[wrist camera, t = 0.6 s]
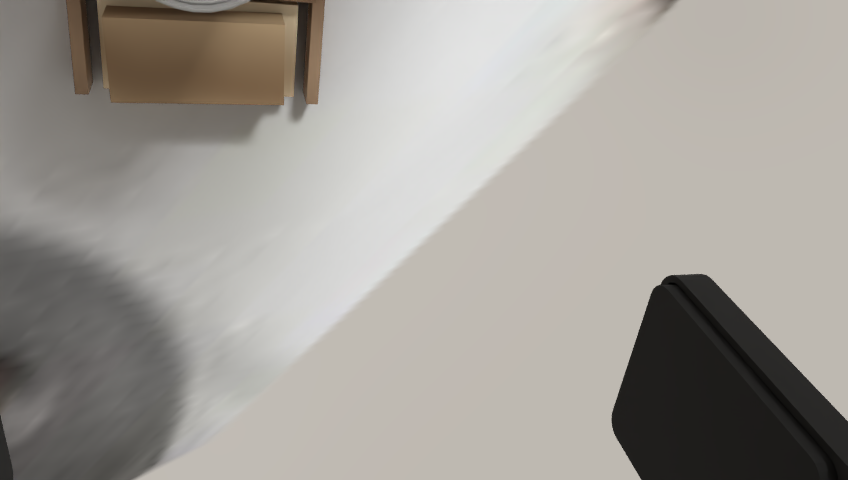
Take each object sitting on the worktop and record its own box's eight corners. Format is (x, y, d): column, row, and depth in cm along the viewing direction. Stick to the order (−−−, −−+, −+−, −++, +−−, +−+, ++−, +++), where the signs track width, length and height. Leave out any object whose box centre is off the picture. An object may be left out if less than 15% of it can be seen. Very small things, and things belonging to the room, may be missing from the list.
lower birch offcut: (101, -23, 31) (96, -10, 30) (293, -7, 33) (298, 5, 32) (108, 72, 33) (103, 88, 32) (289, 81, 35) (293, 96, 34)
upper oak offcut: (106, 5, 30) (101, 17, 29) (281, 13, 32) (284, 24, 30) (115, 88, 32) (110, 102, 30) (280, 91, 33) (283, 105, 32)
